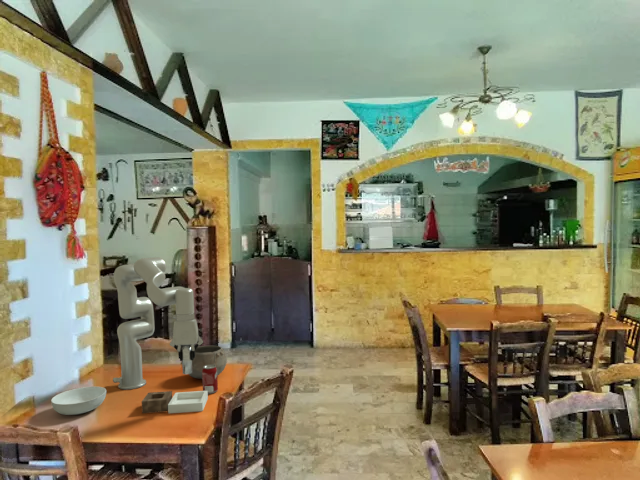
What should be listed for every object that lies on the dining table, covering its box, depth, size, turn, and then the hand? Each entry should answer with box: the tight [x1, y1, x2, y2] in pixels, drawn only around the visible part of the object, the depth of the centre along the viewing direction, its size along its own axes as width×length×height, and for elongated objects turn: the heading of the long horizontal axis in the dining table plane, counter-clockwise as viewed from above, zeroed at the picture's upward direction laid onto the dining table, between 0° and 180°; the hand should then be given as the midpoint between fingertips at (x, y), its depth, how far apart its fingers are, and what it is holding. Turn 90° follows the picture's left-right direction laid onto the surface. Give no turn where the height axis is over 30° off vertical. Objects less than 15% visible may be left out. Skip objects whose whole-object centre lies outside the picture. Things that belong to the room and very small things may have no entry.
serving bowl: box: [50, 386, 107, 416], centre depth 191 cm, size 21×21×7 cm
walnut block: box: [141, 390, 173, 414], centre depth 191 cm, size 10×10×5 cm
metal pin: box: [181, 345, 192, 375], centre depth 192 cm, size 4×4×13 cm
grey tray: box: [167, 390, 209, 414], centre depth 192 cm, size 14×14×4 cm
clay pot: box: [188, 345, 228, 380], centre depth 228 cm, size 21×21×15 cm
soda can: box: [201, 365, 219, 395], centre depth 208 cm, size 7×7×12 cm
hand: (187, 359), depth 192 cm, fingers closed on metal pin, 4 cm apart
